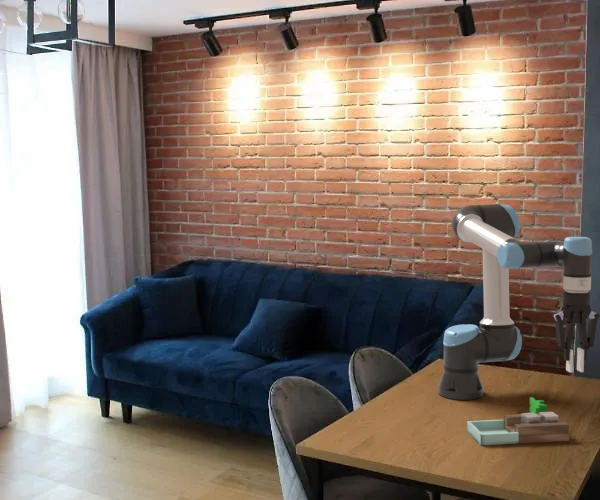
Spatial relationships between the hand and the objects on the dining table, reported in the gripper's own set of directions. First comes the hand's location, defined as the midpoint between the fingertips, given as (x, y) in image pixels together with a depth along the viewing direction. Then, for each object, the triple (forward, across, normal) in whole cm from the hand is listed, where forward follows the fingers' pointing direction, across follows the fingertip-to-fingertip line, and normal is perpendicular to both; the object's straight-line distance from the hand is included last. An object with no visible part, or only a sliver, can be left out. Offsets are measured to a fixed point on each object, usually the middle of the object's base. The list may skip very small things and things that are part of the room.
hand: (574, 370), depth 225 cm
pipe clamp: (+19, -4, +16) cm, 25 cm away
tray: (+19, -24, 0) cm, 31 cm away
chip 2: (+17, -8, 0) cm, 18 cm away
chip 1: (+17, -13, 0) cm, 21 cm away
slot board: (+19, -12, 0) cm, 22 cm away
